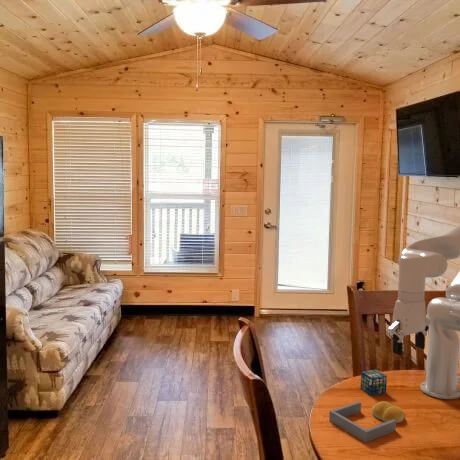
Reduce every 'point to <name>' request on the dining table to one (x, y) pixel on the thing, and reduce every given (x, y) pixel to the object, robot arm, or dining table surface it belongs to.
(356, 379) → the dining table surface
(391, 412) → the bread roll
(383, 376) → the puzzle
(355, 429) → the box
